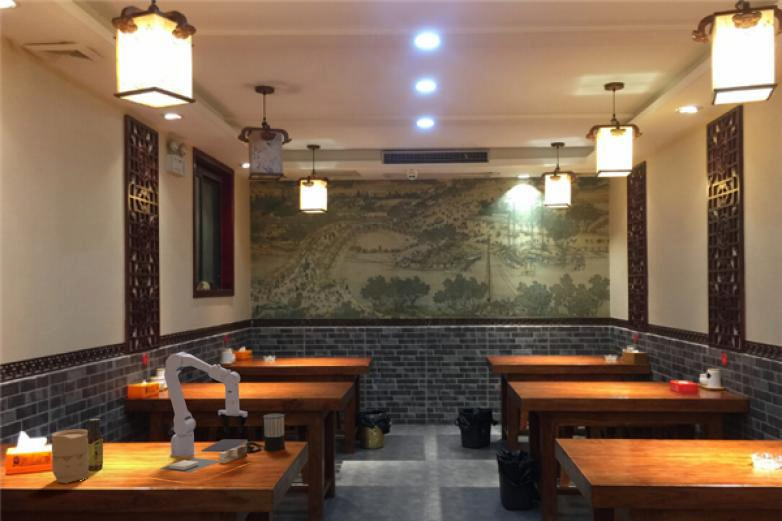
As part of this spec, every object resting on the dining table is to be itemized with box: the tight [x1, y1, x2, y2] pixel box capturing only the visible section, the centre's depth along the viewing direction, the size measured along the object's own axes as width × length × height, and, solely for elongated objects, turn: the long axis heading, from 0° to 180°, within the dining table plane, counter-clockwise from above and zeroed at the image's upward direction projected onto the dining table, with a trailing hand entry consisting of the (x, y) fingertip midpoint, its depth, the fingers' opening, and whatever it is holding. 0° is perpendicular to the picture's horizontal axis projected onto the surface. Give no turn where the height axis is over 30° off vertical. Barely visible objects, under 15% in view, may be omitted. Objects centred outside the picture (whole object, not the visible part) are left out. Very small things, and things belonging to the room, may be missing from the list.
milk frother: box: [245, 413, 286, 453], centre depth 303 cm, size 14×16×15 cm
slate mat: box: [159, 457, 220, 473], centre depth 280 cm, size 16×18×1 cm
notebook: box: [200, 438, 248, 453], centre depth 312 cm, size 13×2×21 cm
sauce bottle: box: [87, 418, 104, 471], centre depth 282 cm, size 7×6×20 cm
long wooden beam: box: [218, 444, 248, 464], centre depth 288 cm, size 14×2×4 cm, turn 152°
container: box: [51, 428, 89, 484], centre depth 267 cm, size 13×13×18 cm
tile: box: [168, 459, 199, 470], centre depth 277 cm, size 2×8×8 cm
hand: (233, 432), depth 297 cm, fingers open, 7 cm apart
